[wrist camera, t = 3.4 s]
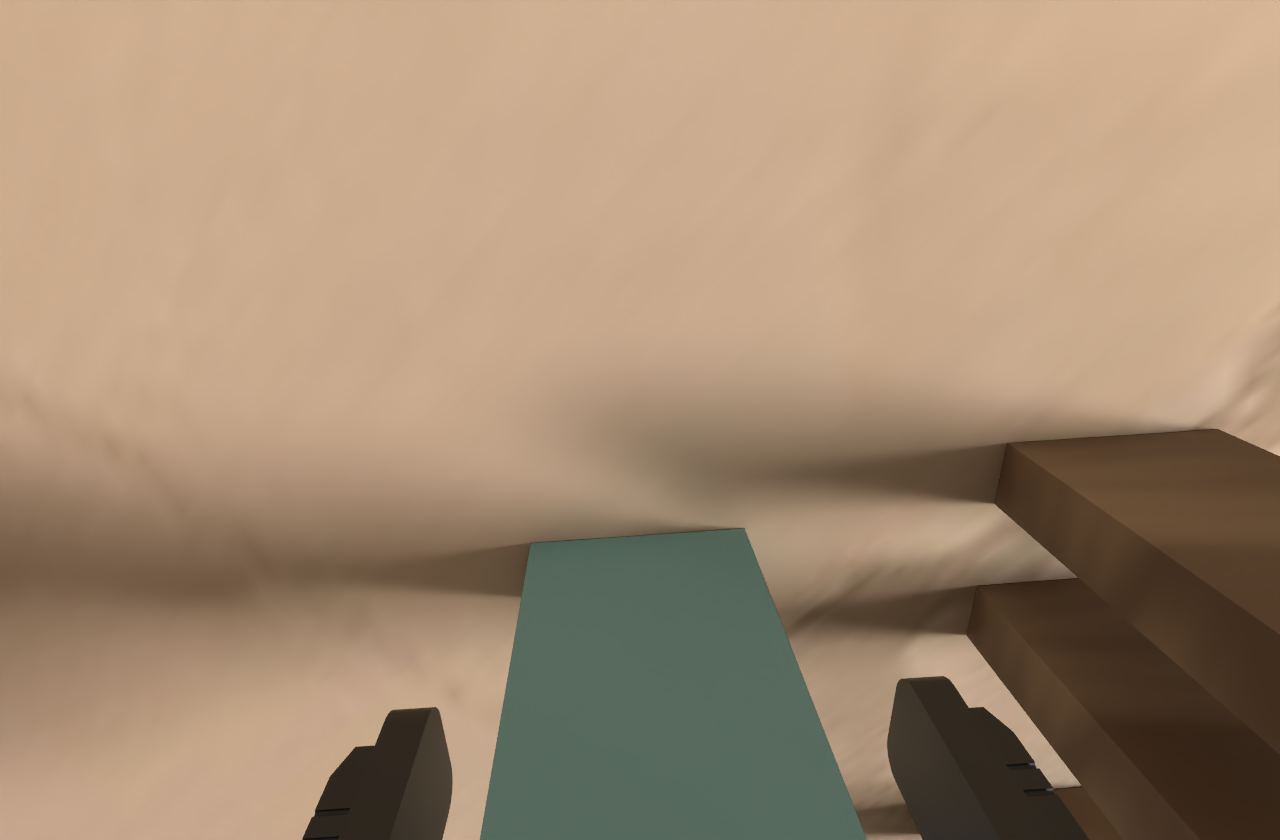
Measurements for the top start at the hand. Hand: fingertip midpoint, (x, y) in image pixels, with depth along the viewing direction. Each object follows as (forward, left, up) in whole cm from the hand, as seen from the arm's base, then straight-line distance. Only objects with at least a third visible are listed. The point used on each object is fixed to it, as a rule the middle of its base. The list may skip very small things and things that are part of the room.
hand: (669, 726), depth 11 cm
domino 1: (0, 0, -4) cm, 4 cm away
